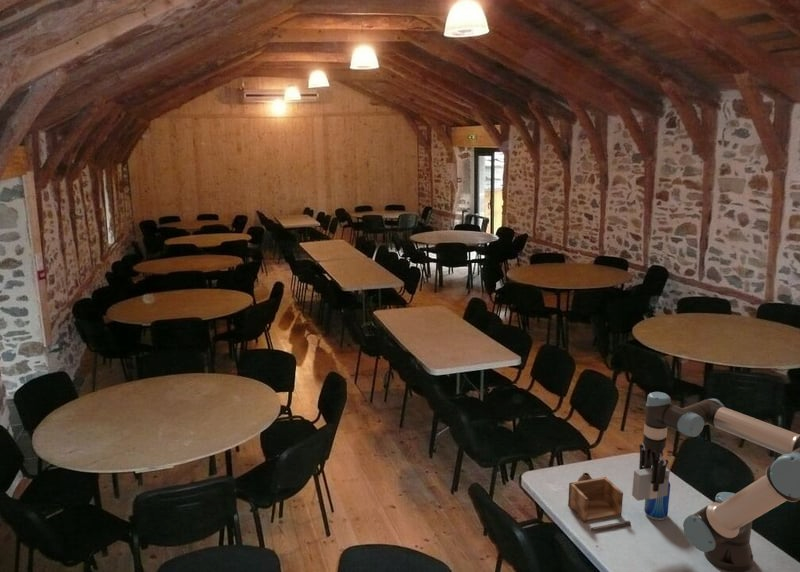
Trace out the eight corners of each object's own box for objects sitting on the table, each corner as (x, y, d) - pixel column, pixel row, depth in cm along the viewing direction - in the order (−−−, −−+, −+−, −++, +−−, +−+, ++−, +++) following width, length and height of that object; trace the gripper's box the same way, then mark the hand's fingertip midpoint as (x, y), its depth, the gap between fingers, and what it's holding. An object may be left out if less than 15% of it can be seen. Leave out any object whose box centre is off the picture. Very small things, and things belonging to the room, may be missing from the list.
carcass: (630, 524, 246) (632, 501, 243) (592, 532, 242) (593, 508, 240) (604, 499, 263) (605, 476, 260) (568, 505, 259) (569, 482, 256)
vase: (591, 488, 270) (592, 469, 268) (595, 498, 264) (597, 478, 262) (574, 488, 271) (575, 469, 269) (578, 498, 264) (579, 478, 262)
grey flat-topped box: (669, 497, 234) (671, 472, 232) (639, 502, 231) (641, 477, 229) (661, 490, 239) (663, 465, 236) (632, 495, 236) (634, 470, 233)
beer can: (669, 522, 247) (672, 484, 243) (645, 520, 249) (649, 482, 245) (665, 509, 255) (668, 472, 251) (642, 507, 257) (645, 470, 253)
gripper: (679, 445, 223) (673, 506, 229) (650, 423, 238) (644, 481, 244) (660, 447, 221) (654, 509, 227) (631, 426, 236) (626, 484, 242)
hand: (649, 494), depth 235 cm, fingers closed on grey flat-topped box, 3 cm apart
